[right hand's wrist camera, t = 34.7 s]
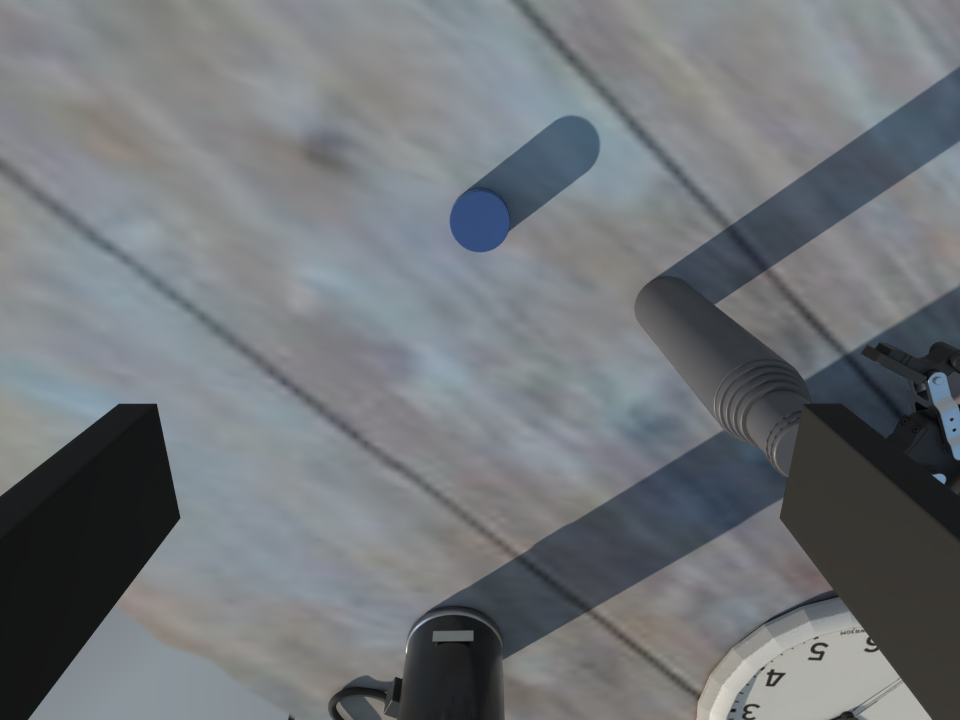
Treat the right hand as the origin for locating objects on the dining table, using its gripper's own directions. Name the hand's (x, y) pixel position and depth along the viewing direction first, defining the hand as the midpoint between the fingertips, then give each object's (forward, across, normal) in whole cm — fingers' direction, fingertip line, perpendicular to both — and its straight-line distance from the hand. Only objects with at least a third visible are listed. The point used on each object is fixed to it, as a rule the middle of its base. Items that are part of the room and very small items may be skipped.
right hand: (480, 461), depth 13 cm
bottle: (+36, +14, -7) cm, 39 cm away
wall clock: (+36, +37, -50) cm, 72 cm away
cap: (+34, 0, 0) cm, 34 cm away
